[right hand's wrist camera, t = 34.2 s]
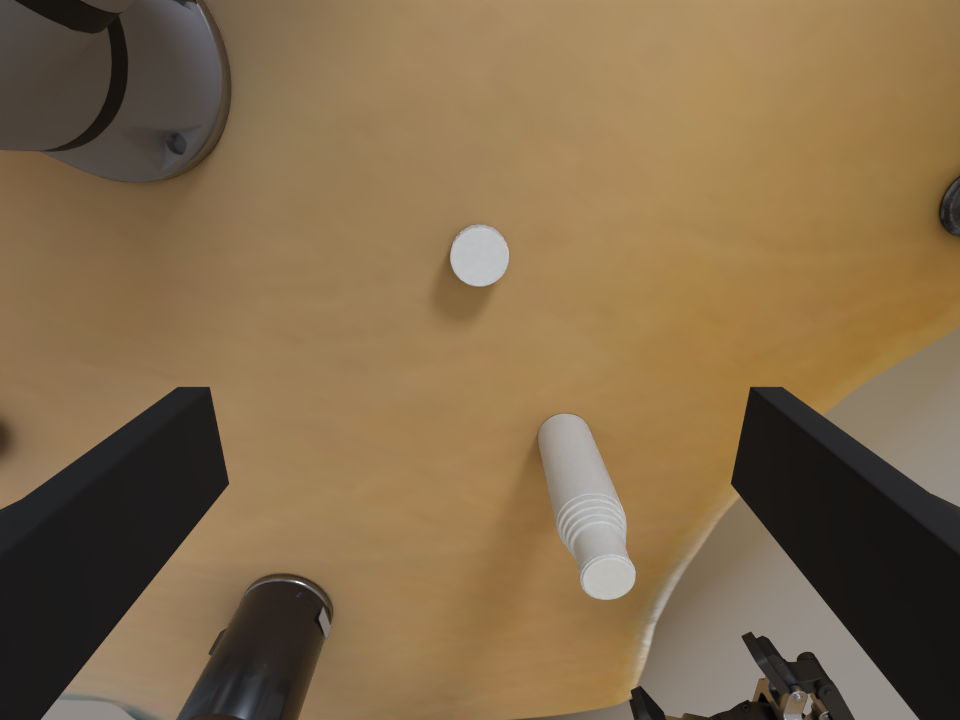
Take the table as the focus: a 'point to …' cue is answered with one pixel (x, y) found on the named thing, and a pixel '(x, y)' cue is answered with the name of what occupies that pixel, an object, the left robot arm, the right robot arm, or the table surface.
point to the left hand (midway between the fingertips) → (694, 673)
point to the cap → (479, 255)
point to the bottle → (586, 506)
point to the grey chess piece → (952, 209)
